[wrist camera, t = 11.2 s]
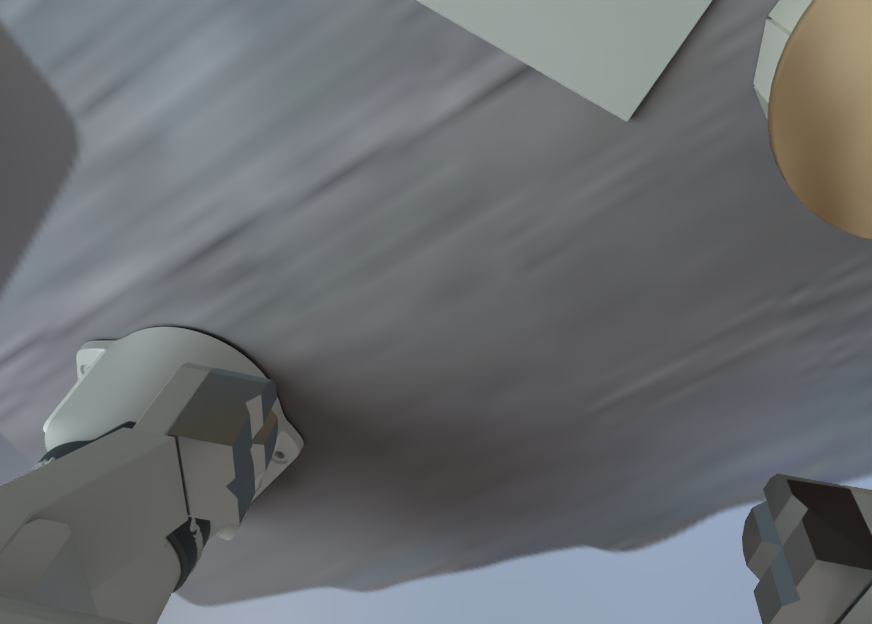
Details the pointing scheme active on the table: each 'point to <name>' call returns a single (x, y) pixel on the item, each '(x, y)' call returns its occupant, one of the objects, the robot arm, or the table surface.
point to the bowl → (775, 45)
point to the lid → (827, 113)
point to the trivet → (585, 40)
